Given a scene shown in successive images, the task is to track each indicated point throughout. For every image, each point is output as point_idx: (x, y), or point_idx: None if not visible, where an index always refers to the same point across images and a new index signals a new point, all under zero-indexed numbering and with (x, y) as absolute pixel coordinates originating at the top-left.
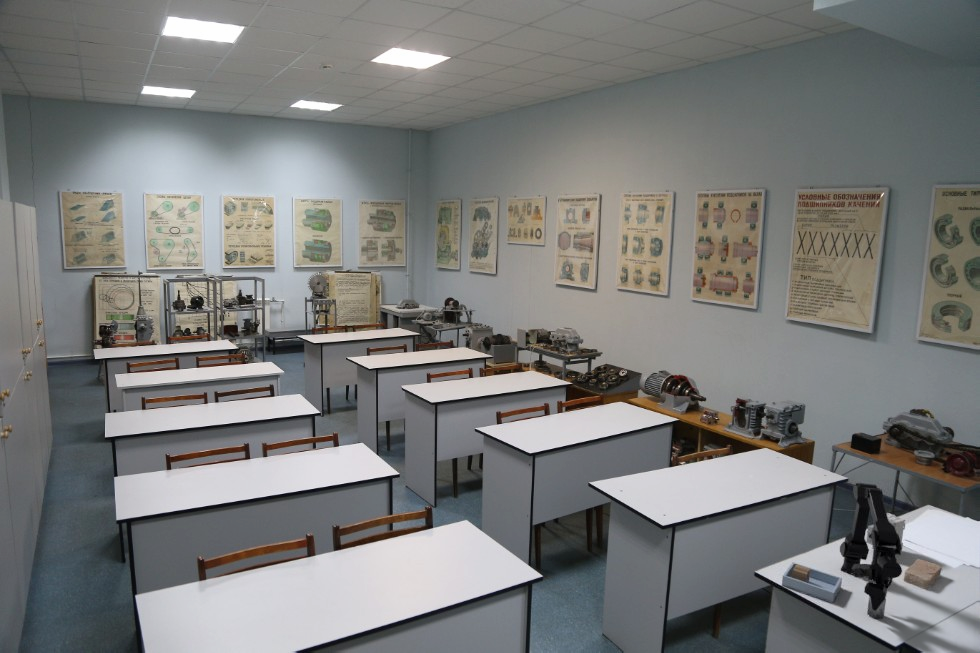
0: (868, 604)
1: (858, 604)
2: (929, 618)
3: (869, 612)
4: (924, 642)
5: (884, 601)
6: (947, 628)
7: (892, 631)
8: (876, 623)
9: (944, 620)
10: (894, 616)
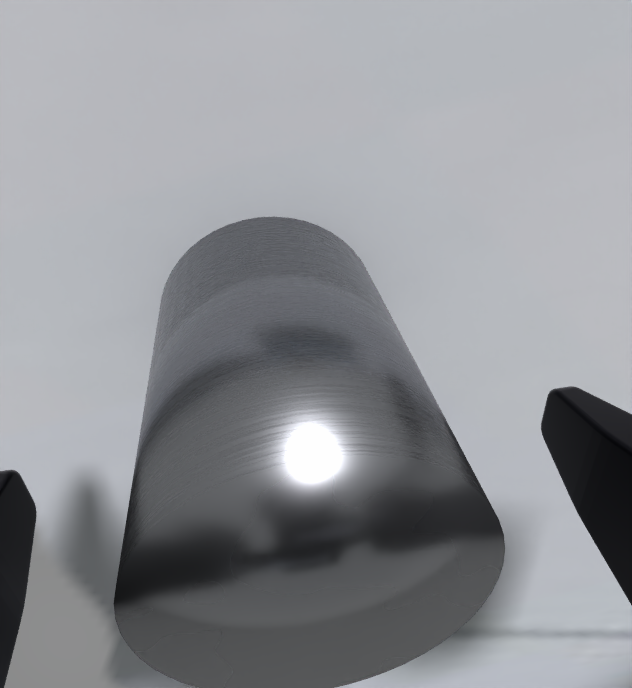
0: (218, 320)
1: (447, 11)
2: (579, 596)
3: (174, 295)
4: (142, 682)
5: (255, 684)
6: (495, 674)
7: (60, 531)
8: (61, 387)
9: (604, 640)
10: None
